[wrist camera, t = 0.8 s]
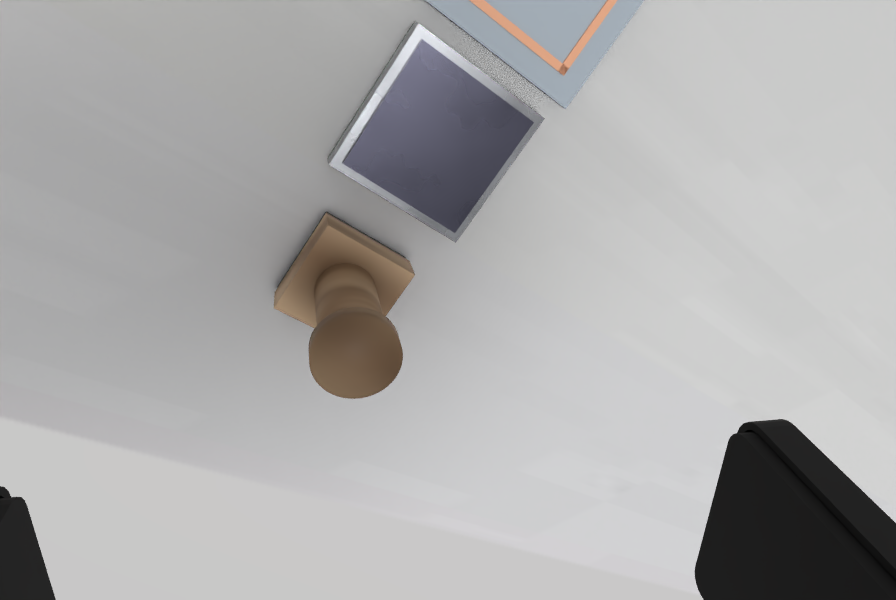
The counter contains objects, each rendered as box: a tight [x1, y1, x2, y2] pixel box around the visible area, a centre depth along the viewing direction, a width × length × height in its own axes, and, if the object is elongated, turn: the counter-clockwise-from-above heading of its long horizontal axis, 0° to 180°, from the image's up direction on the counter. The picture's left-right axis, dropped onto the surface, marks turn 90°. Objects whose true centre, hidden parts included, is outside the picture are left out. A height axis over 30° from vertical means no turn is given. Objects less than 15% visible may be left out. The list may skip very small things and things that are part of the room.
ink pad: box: [328, 21, 545, 242], centre depth 33 cm, size 8×8×2 cm
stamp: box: [274, 212, 415, 399], centre depth 32 cm, size 5×5×9 cm
